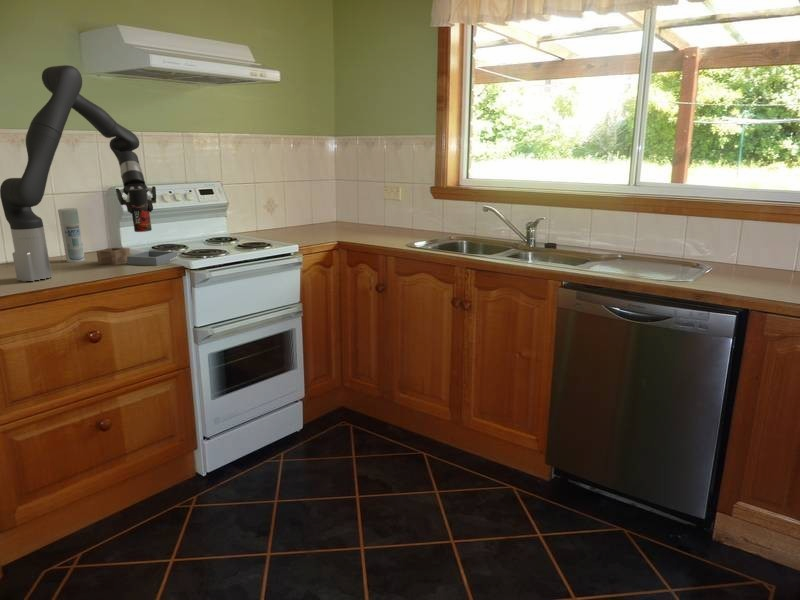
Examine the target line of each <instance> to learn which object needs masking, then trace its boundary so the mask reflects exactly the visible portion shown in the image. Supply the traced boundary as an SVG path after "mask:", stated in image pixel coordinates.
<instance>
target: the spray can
mask: <svg viewBox="0 0 800 600" xmlns="http://www.w3.org/2000/svg"><path fill="white" fill-rule="evenodd" d="M78 211H79V210H78V208H75V207H69V208H67V207H66V208H59V209H57V212H58V219H59V223H60V225H59V226H60V230H61V231H60V232H61V235H62V243H63V247H64V253H65V254H64V255H65V259H66V262H67V263H78V262H79V263H80V262H84V261H85V259H86V258H85V252H84V245H83V239H82V232H81V225H80V224H81V223H80V217H79V212H78Z"/></svg>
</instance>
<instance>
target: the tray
mask: <svg viewBox="0 0 800 600" xmlns="http://www.w3.org/2000/svg"><path fill="white" fill-rule="evenodd" d="M176 256H177V257H178V251H173V250H172V251H170V250H167V251H166V250H146V251H142V252H138V253H135V254H130V256H127V262H126V263H127V265H137V266H155V267H156V266H161V265H163V264H167V263H170V262H171V261H170V259H172V258H174V257H176ZM169 261H170V262H169Z"/></svg>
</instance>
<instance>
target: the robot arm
mask: <svg viewBox="0 0 800 600" xmlns="http://www.w3.org/2000/svg"><path fill="white" fill-rule="evenodd" d="M41 80H42V84H43V86H44V87H45V88H46V89H47V90H48V91H49V92H50V93H51V96H50V99H49V100H48V101H47V102H46V103H45V104H44V106H43V107H42V108H41V109H40V110H39V111H38V112H37V113H36V114H35V116H34V117H33V118H32V120H31V122H30V124H29V127H28V130H27V132H26V135H25V148H26V153H27V164H26V167H25V169H24V172H23V174H22V175H21V177H9V178H6V179H5V180H3V181H2V183H1V185H0V200H1V204H2V209H3V213H4V217H5V219H6V221H7V223H8V225H9V227H10V233H11V238H12V243H13V249H14V252H12V259H13V264H14V269H15V274H16V275H15V276H16V281H17V280H22V281H21V282H26V281H33V282H35V281H34V280H39V281H41V280H40V279H45V280H47V279H46V278H49V279H51V278H53V275H52V267H51V264H50V258H49V257H50V256H49V252H48V251H49V250H48V247H47V246H48V245H47V240H46V234H45V233H46V232H45V228H44V222H43V219H42V218H41V217H40V216H39V215H37V214H35V213H34V211H33V209H32V208H33V207H36V206H38V205H39V204H40V203H41V202H42V200H43V198H44V195H45V191H46V186H47V182H48V177H49V173H50V169H51V166H52V164H53V160H54V158H55V157H54V156H55V155H56V152H57V149H58V147H59V144H60V141H61V138H62V136H63V132H64V130H65V129H64V128H65V126H66V123H67V121H68V118H69V116H70V113H71V110H74V111H75V112H77V113H78V114H79V115H80V116H82V117H83V118H84V119H85V120H86V121H87V122H88V123H90V124H91V125H92V127H94V129H96V130H97V131H98V132H99V133H100V134H101V136H103V137H104V138H107V139H110V141H109V149H110V150H111V151H112V152H113V154H114V155H115V158H116V159H117V161H118V165H119V170H120V177H121V181H122V185H123V188H121V189H120V188H116V189H115V195H116V197H117V200H118V202H119V205H121V206H124V205H125V206H126V210H127V213H129V214H131V215H132V207H131V203H130V197H129V191H128V190H130V189H146V192H147V199H148V207H149V213H152V211H154V205H153V203H154V204H155V203H157V189H156V186H154V185H152V187H148V186H147V185H146V181H145V177H144V173H143V170H142V168H141V164H140V160H139V157H138V155H137V153H136V152H134V151H135V150H136V149H138V148H139V147H140V140H139V137H137V135H136V134H135V133H134V132H132V131H131V130H130V129H128V128H125V126H122V125H121V124H120V123H118V122H117V121H116V120H115V119H114V118H113V117H112V116H111V115H110V114H109V113H108V112H107V111H106V110H105V109H103V108H102V107H101V106H99V105H97V104H95V103H94V102H92V101H91V100H89V99H87V98H86V97H84V96H83V95H82V94H80V92H81V91H82V88H83V77H82V74H81V72H80V70H79V69H78V68H76V67H75V66H72V65H67V64H66V65H65V64H64V65H54V66H49V67H46V68H45V69H44V70H43V71H42V73H41ZM148 192H149V193H150V195H152V196H151V197H150V195H149V194H148ZM123 195H126V198H125V199H124V197H123ZM50 277H51V278H50Z"/></svg>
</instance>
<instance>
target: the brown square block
mask: <svg viewBox="0 0 800 600" xmlns="http://www.w3.org/2000/svg"><path fill="white" fill-rule="evenodd" d="M130 251H131V250H130V247H113V246H112V247H107V248H104V249H98V250H96V258H97V264H98V265H108V266H111V265H113V266H117V265H120V264H125V263H128V262H127V256H130V255H131V252H130Z"/></svg>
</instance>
